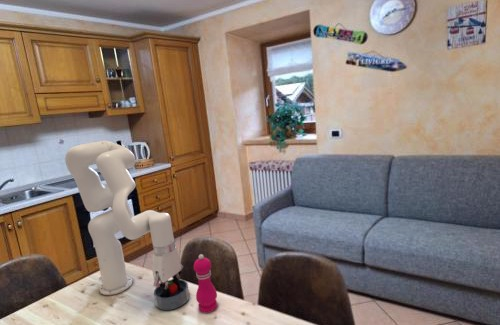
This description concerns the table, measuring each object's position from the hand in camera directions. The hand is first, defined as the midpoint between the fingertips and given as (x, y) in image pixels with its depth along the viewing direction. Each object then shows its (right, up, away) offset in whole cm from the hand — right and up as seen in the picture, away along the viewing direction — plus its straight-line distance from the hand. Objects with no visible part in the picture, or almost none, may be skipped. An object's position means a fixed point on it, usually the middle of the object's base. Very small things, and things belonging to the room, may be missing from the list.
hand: (172, 292), depth 116 cm
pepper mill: (+14, -3, -5) cm, 15 cm away
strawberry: (0, 0, 0) cm, 1 cm away
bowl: (0, -3, +1) cm, 3 cm away
